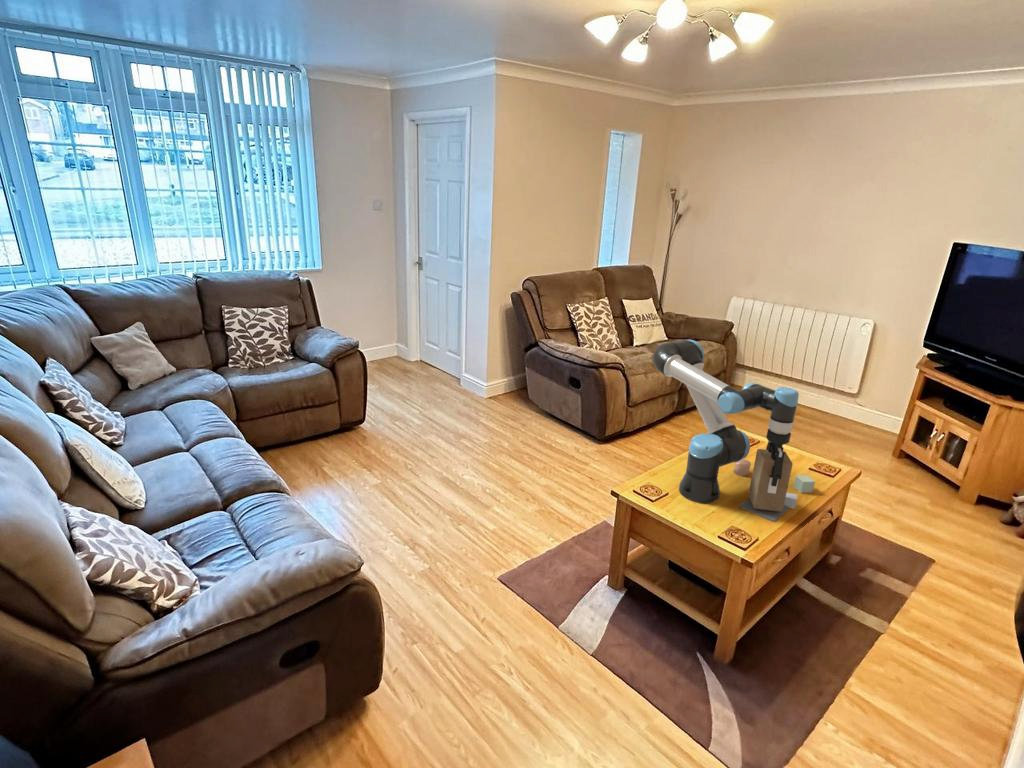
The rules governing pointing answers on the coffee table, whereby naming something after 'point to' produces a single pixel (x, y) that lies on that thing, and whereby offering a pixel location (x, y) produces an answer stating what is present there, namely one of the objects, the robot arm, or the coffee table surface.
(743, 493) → the coffee table surface
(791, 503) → the pale blue cube
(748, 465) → the pale pink rounded piece
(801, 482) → the sage cube
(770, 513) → the slate mat
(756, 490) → the wooden block
